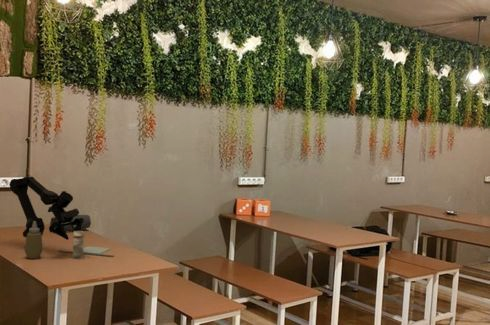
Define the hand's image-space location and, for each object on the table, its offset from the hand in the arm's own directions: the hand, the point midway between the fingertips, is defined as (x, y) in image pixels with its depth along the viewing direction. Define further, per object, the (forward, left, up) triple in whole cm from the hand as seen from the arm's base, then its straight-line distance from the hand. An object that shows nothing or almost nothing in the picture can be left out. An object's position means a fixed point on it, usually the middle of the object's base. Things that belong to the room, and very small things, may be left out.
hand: (75, 238), depth 261 cm
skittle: (+1, -2, -9) cm, 10 cm away
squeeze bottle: (-18, +5, -10) cm, 21 cm away
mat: (+13, +10, -9) cm, 19 cm away
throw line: (+7, +4, -9) cm, 12 cm away
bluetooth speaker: (+17, +66, -10) cm, 69 cm away
